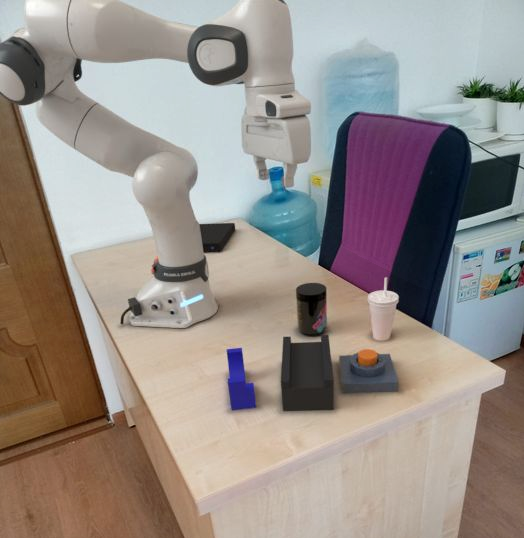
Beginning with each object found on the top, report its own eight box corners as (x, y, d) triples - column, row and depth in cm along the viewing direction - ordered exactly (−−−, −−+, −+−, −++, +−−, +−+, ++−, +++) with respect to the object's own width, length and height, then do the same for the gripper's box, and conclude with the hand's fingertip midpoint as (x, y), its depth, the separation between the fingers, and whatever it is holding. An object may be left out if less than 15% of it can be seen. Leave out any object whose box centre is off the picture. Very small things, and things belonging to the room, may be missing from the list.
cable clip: (256, 407, 91) (253, 380, 88) (231, 410, 91) (227, 383, 88) (252, 372, 101) (249, 346, 98) (230, 374, 101) (226, 349, 98)
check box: (342, 393, 93) (342, 375, 91) (339, 364, 101) (339, 347, 99) (397, 391, 92) (399, 373, 90) (389, 363, 100) (390, 345, 98)
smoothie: (379, 346, 106) (381, 285, 99) (360, 334, 111) (361, 276, 104) (402, 338, 108) (406, 278, 101) (383, 326, 113) (386, 268, 106)
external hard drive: (235, 230, 186) (234, 222, 185) (220, 252, 167) (219, 243, 165) (198, 231, 189) (197, 224, 188) (180, 252, 170) (178, 244, 168)
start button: (358, 367, 93) (359, 359, 92) (356, 357, 96) (357, 349, 96) (378, 366, 93) (378, 358, 92) (375, 356, 96) (376, 348, 95)
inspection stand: (283, 411, 89) (280, 381, 86) (285, 364, 103) (283, 336, 100) (333, 410, 89) (333, 379, 85) (328, 362, 102) (328, 334, 99)
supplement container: (309, 340, 111) (307, 297, 105) (292, 329, 116) (289, 288, 111) (333, 331, 113) (332, 289, 108) (315, 321, 119) (314, 280, 113)
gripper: (230, 103, 96) (237, 177, 103) (283, 107, 80) (288, 194, 87) (259, 100, 98) (264, 173, 105) (316, 102, 83) (318, 188, 89)
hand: (275, 183), depth 96 cm, fingers open, 8 cm apart
